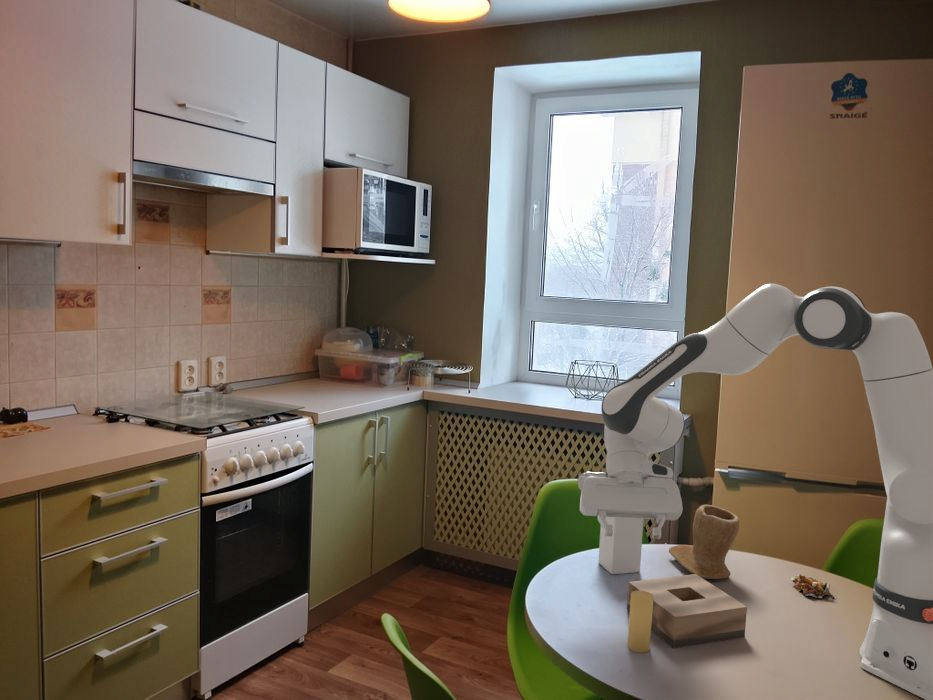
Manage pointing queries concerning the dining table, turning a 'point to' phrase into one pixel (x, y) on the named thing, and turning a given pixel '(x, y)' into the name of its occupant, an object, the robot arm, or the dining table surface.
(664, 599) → the bore block
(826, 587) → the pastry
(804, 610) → the dining table surface
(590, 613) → the dining table surface
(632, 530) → the milk carton
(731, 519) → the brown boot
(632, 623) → the pin
